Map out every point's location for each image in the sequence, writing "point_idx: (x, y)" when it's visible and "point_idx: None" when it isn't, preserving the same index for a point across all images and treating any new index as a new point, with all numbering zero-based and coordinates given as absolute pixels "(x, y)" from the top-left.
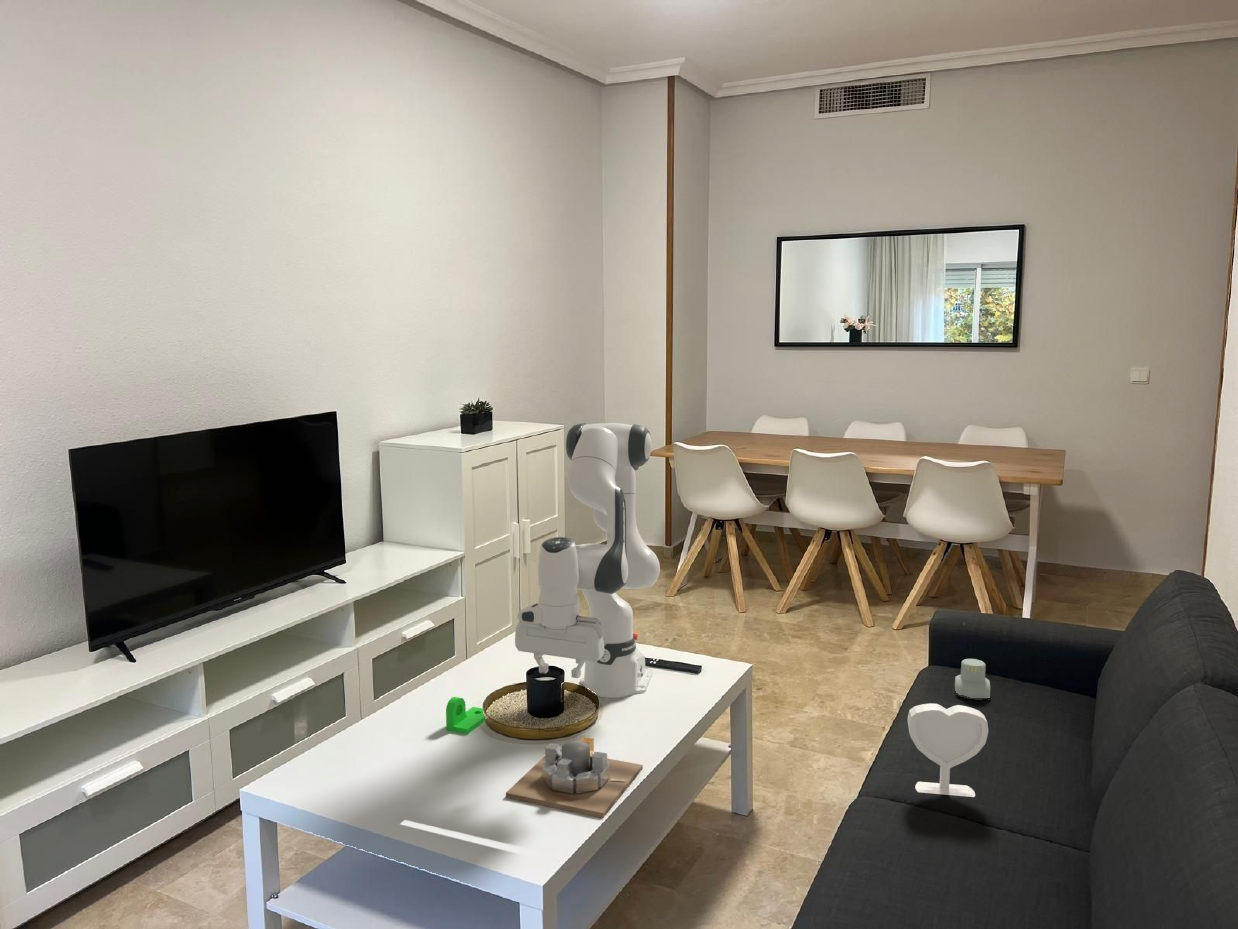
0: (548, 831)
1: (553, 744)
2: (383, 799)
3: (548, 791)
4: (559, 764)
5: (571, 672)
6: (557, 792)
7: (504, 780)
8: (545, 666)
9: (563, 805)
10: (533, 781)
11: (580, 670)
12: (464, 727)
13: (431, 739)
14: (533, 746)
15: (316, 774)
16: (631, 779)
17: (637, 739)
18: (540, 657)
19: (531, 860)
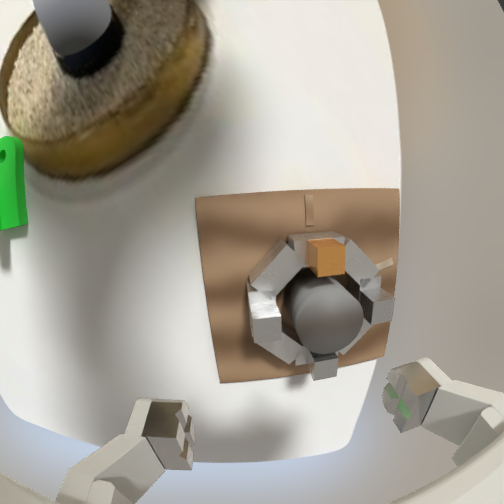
0: (323, 405)
1: (264, 321)
2: (94, 417)
3: None
4: (318, 378)
5: (395, 423)
6: None
7: (180, 338)
8: (188, 460)
9: None
10: (241, 339)
11: (443, 377)
12: (12, 222)
13: (4, 261)
14: (141, 191)
15: (11, 385)
16: (397, 246)
17: (333, 70)
18: (117, 487)
19: (326, 439)
